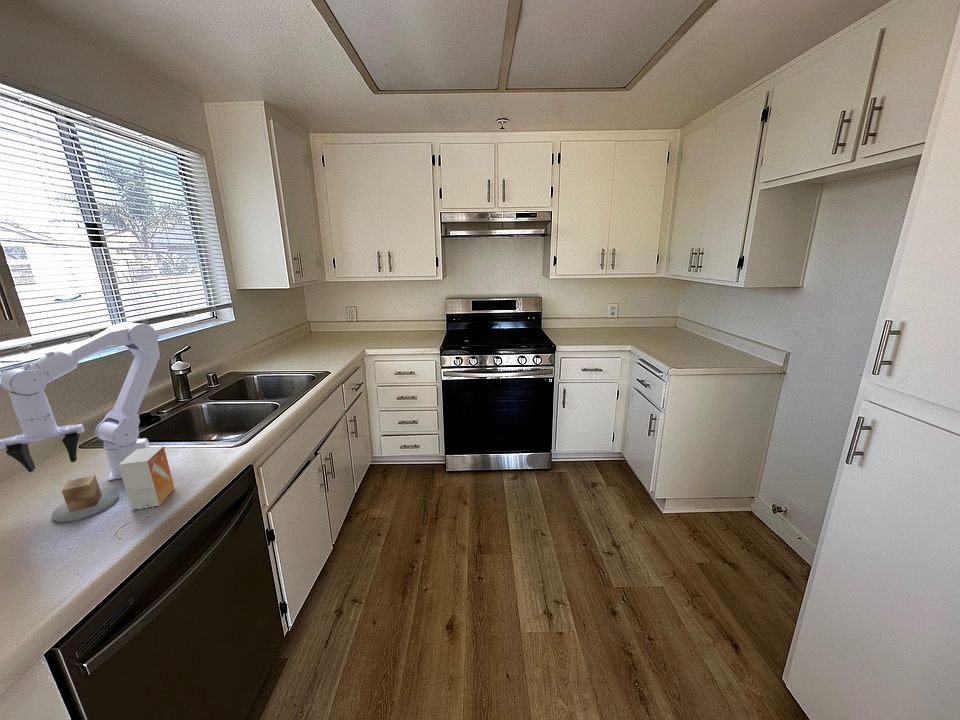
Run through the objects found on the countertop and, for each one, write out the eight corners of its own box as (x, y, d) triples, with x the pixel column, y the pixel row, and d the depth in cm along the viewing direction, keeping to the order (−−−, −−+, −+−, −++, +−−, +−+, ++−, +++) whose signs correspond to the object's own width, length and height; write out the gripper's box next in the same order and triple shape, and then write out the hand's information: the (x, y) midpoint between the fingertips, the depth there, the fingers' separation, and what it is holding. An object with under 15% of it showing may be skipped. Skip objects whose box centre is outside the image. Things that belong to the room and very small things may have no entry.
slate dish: (122, 487, 107) (121, 484, 107) (113, 510, 98) (112, 507, 98) (61, 502, 101) (60, 499, 101) (45, 529, 92) (44, 525, 91)
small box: (160, 506, 99) (147, 461, 95) (131, 511, 97) (116, 464, 94) (175, 488, 107) (164, 445, 103) (148, 492, 105) (135, 448, 101)
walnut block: (101, 495, 103) (95, 474, 101) (96, 505, 98) (89, 484, 97) (75, 501, 100) (68, 481, 98) (69, 512, 96) (61, 491, 94)
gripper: (-16, 430, 90) (5, 482, 93) (72, 414, 97) (88, 462, 101) (-3, 419, 95) (16, 469, 99) (79, 405, 103) (94, 451, 107)
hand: (53, 465), depth 101 cm, fingers open, 7 cm apart
